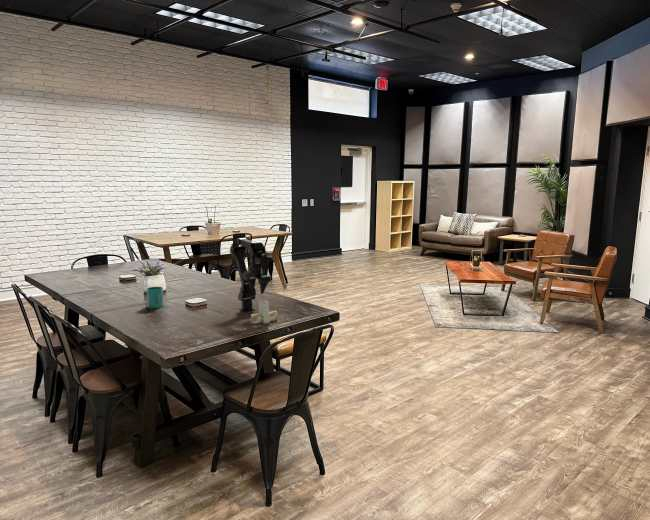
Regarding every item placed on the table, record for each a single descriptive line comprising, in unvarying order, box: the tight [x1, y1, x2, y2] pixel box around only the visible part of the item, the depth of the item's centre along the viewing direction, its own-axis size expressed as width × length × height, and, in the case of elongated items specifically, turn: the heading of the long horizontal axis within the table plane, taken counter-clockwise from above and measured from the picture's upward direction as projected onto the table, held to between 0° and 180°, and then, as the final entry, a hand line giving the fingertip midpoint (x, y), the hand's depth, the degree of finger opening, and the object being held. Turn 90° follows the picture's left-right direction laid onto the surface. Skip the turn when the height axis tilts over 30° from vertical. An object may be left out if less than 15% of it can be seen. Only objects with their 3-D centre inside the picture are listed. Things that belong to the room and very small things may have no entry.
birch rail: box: [250, 310, 278, 324], centre depth 255 cm, size 14×2×4 cm, turn 119°
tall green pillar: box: [258, 299, 270, 324], centre depth 254 cm, size 7×3×11 cm, turn 29°
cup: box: [146, 286, 165, 309], centre depth 284 cm, size 9×12×11 cm
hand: (257, 292), depth 264 cm, fingers open, 9 cm apart
